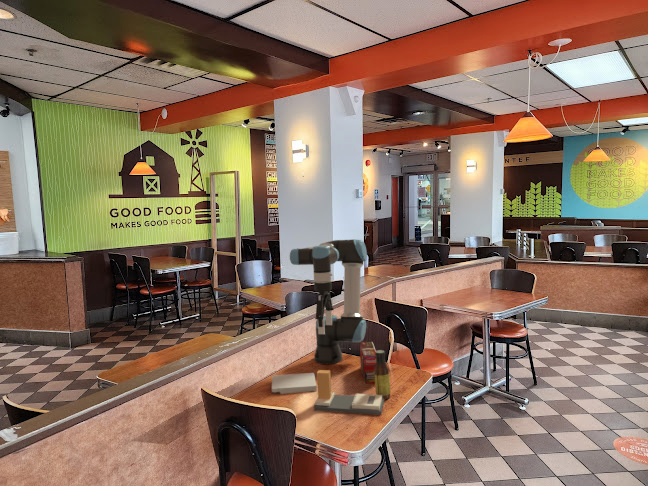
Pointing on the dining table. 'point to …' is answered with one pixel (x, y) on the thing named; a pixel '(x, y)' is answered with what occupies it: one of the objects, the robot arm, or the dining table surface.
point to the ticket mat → (346, 406)
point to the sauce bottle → (381, 375)
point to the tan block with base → (324, 388)
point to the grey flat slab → (293, 383)
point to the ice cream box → (368, 361)
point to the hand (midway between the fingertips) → (325, 329)
